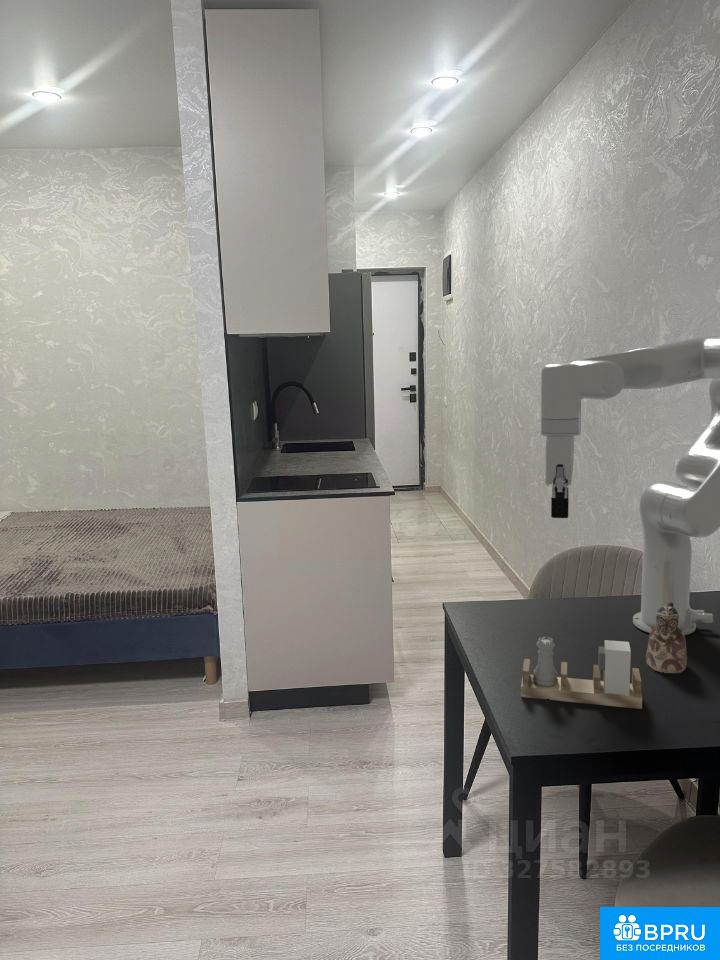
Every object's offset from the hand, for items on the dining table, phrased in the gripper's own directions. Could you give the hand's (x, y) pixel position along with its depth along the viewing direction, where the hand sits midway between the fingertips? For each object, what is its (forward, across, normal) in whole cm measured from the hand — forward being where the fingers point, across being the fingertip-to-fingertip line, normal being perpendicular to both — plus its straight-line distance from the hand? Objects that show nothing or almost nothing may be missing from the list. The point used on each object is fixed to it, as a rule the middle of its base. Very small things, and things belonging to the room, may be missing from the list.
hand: (559, 511), depth 140 cm
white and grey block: (+26, +22, +10) cm, 36 cm away
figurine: (+28, +6, +20) cm, 35 cm away
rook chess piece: (+26, +22, -2) cm, 34 cm away
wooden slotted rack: (+28, +22, +4) cm, 36 cm away
